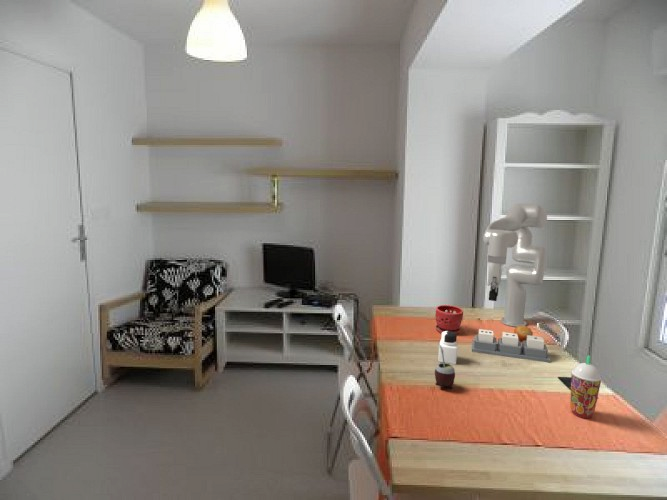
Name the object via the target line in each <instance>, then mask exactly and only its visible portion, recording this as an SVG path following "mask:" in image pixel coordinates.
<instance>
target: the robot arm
mask: <svg viewBox="0 0 667 500" xmlns="http://www.w3.org/2000/svg"><path fill="white" fill-rule="evenodd" d="M547 221H548V216H547V212H546V210H545V209H544V208H543V206H541V205H540V204H538V203H522V202H521V203H515V204H513V205H512V206H511V207H510V209H509V210H508V212H507V213H506V215H505V217H502V218H500V219H497V220H494V221H492V222H491V223H490V224H488V226H487V227H486V230H485V231H484V233H483V235H482V236H483V237H482V239H483V243H484V244H485V245H487V246H488V249H487V251H488V253H487V263H488V264H489V266H488V274H487V283H486V284H487V286H488V287H490V288H489V293H488V301H491V302H497V300H498V295H499V288H500V285H501V279H502V275H503V274H502V273H503V265H506V264H507V256H508V255H507V254H508V248H509V249H510V248H512V251H511V258H512V259H513V261H515V262H518V263H524V264H517V263H516V264H510V265H509V266H507V268H506V273H505V275H506V295H505V305H504V307H505V309H504V317H502V318H501V319H500V322H501V323H502V324H504V325H506V326H508V327H515V328H516V327H518V326H523V325H524V326H527V325H528V323H527V321H526V320H525V311H526V301H527V300H526V299H527V289H526V288H525V286H524V285H530V286H541V284H543V282H544V276H545V269H546V262H547V261H546V260H547V250H546V248H545V247H544V246H542V245H534V244H532V242H533V234H532V232H531V230H530V228H539V229H540V228H541V229H542V228H544V227H545V226H546V224H547ZM525 263H526V264H531V265H525ZM533 265H534V266H533Z"/></svg>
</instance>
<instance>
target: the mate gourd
mask: <svg viewBox="0 0 667 500" xmlns="http://www.w3.org/2000/svg"><path fill="white" fill-rule="evenodd" d="M437 344H438V347H439V346H440V348H441V353H442V359H443V362H439V363H438V364H437V366H436V367H435V369H434V378H435V383H434V384H435V386H438V387H440V388H439V389H440V390H441V391H443V390H445V389H449V390H453V386H454V383H455V378H456V372H455V368H454V366H452V364H450V363H445V362H444V355H443V349H442V347H441V345H440V341H437Z"/></svg>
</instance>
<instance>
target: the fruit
mask: <svg viewBox="0 0 667 500" xmlns="http://www.w3.org/2000/svg"><path fill="white" fill-rule="evenodd" d="M513 333H514V334H517V335H518V340H519V341H520V342H521V343H522V341H527V335H531V336H534V332H533V331H532V329H531V328H529V327H528V326H527V325H526V326H524V325H523V326H518V327H515V328H514V329H513Z"/></svg>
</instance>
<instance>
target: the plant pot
mask: <svg viewBox="0 0 667 500" xmlns="http://www.w3.org/2000/svg"><path fill="white" fill-rule="evenodd" d="M454 312H455V313H454ZM463 317H464V310H463V308H460V307H458V306H454V305H449V304H441V305H438V306H436V307H435V322H436V325H435V330H436V331H437V332H439V333H441V334H442V332H444V331H452V332H454V333H456V335H457V334H458V333H460V331H461V330H460V326H461V325H462V322H463V319H464V318H463Z"/></svg>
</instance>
